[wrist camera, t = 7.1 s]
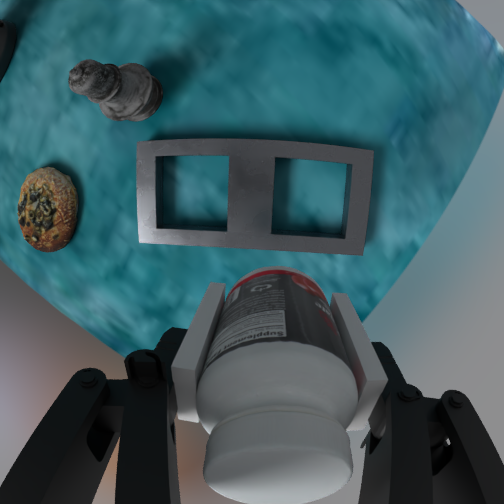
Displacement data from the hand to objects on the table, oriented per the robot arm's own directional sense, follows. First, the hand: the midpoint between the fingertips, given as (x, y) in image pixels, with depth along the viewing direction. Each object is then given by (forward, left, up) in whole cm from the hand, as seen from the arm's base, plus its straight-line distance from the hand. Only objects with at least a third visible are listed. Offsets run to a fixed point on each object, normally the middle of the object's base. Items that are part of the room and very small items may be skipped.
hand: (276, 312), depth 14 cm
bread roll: (-28, +3, -15) cm, 32 cm away
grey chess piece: (-14, +14, -15) cm, 25 cm away
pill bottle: (0, 0, -1) cm, 1 cm away
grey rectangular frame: (-2, +4, -15) cm, 16 cm away
